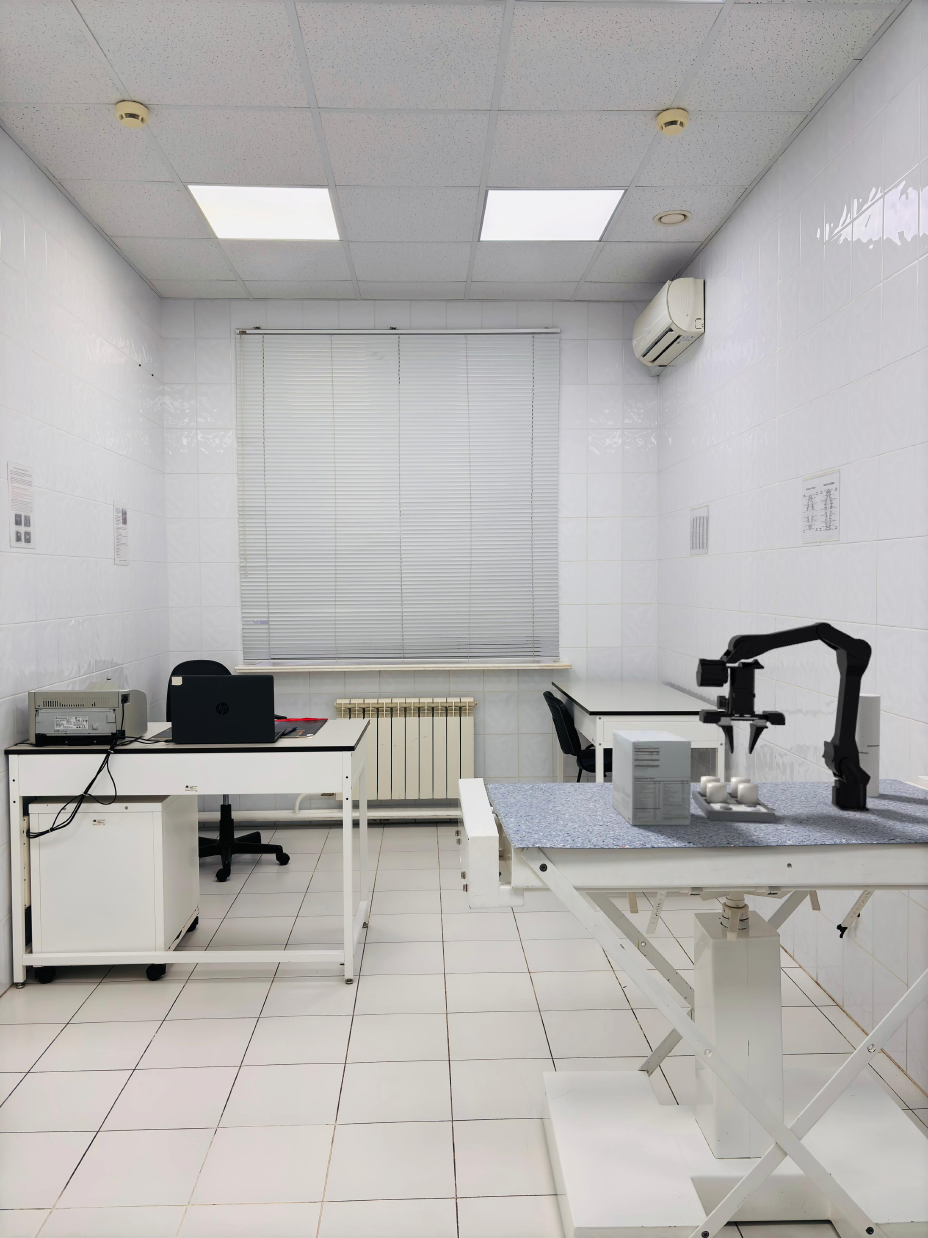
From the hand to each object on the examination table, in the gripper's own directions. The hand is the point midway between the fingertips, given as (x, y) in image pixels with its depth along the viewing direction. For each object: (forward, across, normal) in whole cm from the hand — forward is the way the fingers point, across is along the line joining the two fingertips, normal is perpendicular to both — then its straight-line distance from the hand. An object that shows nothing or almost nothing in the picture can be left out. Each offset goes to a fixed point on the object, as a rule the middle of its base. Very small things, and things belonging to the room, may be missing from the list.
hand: (741, 753), depth 191 cm
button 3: (+10, 0, 0) cm, 10 cm away
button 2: (+10, +7, +7) cm, 14 cm away
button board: (+12, +4, +6) cm, 14 cm away
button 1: (+10, +7, 0) cm, 12 cm away
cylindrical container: (+12, -34, -16) cm, 40 cm away
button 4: (+10, 0, +7) cm, 12 cm away
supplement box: (+12, +23, +14) cm, 30 cm away
